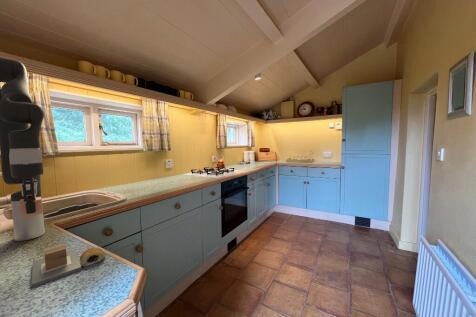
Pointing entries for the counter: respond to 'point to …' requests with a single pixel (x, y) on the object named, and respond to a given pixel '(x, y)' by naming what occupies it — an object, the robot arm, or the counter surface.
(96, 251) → the pastry
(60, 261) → the walnut block
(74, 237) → the counter surface
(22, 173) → the robot arm
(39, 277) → the plate
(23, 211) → the terracotta block
